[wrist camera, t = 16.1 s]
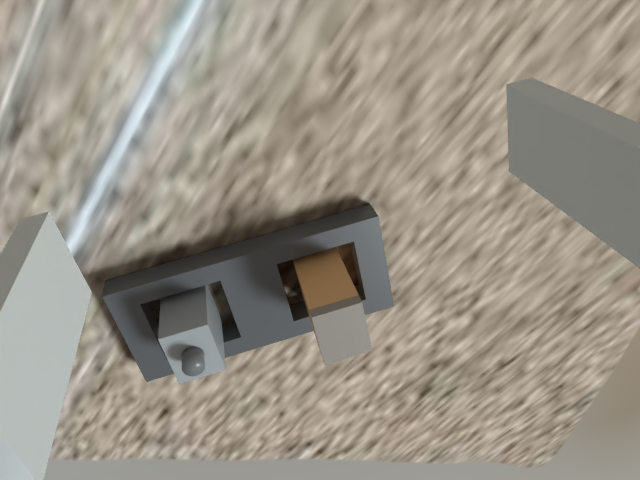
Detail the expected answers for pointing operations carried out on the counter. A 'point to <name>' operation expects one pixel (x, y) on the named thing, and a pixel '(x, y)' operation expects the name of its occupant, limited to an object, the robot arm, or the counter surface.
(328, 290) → the plug
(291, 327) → the gray fixture base
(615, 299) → the counter surface
